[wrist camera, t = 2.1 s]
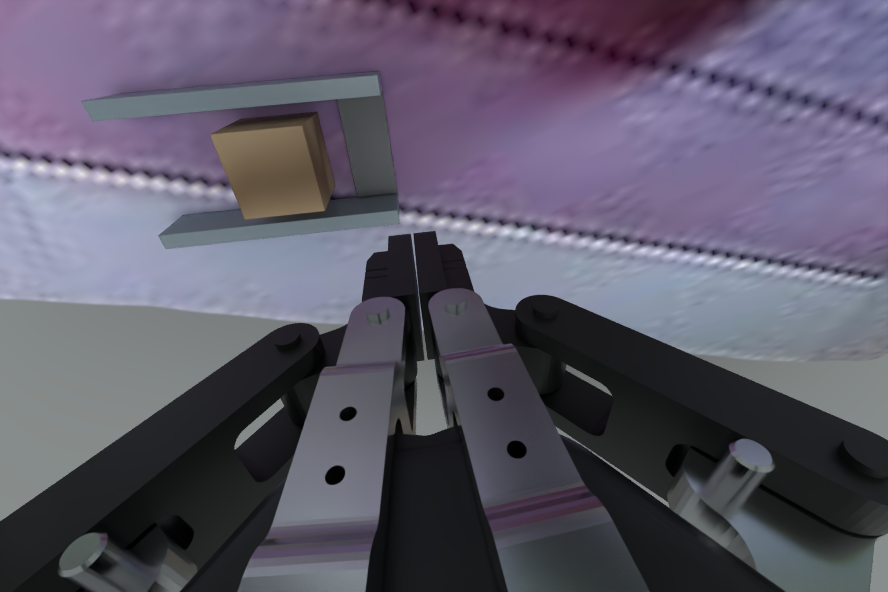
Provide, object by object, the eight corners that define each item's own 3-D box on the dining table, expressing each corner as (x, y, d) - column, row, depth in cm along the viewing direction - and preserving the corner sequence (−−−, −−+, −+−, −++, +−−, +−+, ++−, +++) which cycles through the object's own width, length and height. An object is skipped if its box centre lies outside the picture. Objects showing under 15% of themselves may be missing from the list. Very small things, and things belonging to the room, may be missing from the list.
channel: (120, 93, 23) (81, 101, 20) (379, 71, 23) (377, 75, 21) (189, 227, 28) (165, 249, 25) (399, 205, 29) (399, 223, 26)
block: (241, 118, 24) (209, 134, 20) (317, 111, 24) (301, 125, 20) (267, 192, 27) (244, 219, 23) (335, 185, 27) (324, 210, 23)
